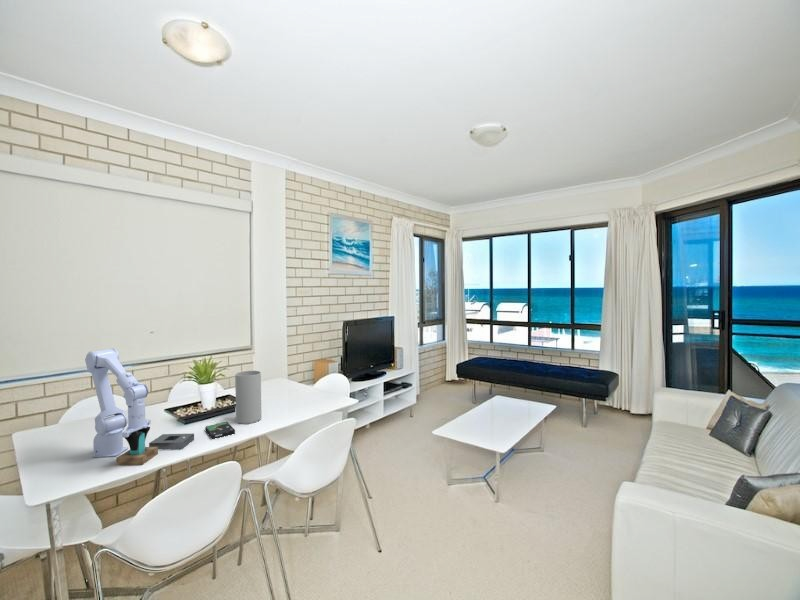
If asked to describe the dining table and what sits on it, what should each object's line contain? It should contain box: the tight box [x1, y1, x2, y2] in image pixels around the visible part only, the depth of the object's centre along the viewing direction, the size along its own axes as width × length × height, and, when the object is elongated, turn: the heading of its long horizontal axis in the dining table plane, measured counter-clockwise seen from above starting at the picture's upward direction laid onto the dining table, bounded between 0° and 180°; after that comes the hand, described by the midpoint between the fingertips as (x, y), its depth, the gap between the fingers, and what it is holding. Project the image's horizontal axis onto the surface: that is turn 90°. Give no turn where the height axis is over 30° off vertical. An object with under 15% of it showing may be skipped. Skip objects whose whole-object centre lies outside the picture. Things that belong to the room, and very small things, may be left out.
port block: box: [148, 433, 195, 450], centre depth 166 cm, size 14×10×3 cm
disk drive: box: [204, 421, 236, 440], centre depth 180 cm, size 10×3×15 cm
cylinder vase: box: [234, 370, 262, 425], centre depth 196 cm, size 12×12×25 cm
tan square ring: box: [115, 446, 159, 466], centre depth 152 cm, size 10×10×3 cm
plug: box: [129, 431, 146, 455], centre depth 151 cm, size 4×4×11 cm
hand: (137, 448), depth 151 cm, fingers closed on plug, 4 cm apart
